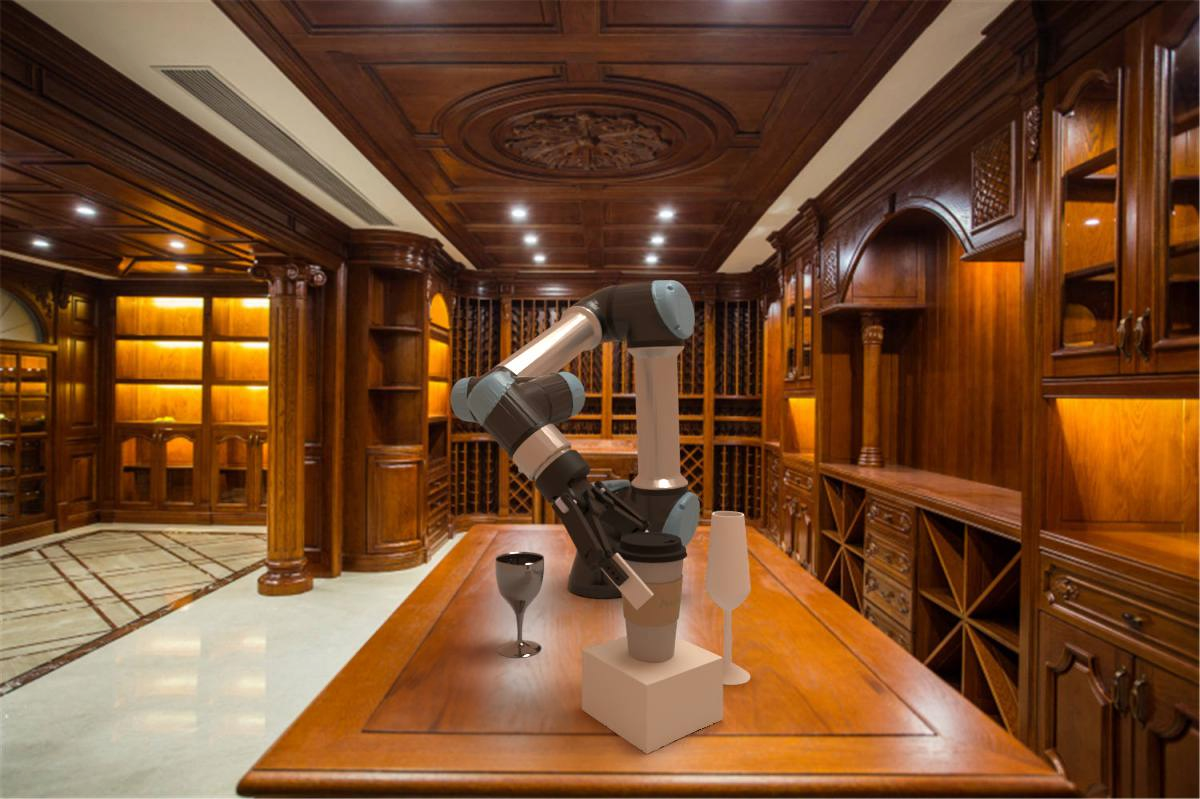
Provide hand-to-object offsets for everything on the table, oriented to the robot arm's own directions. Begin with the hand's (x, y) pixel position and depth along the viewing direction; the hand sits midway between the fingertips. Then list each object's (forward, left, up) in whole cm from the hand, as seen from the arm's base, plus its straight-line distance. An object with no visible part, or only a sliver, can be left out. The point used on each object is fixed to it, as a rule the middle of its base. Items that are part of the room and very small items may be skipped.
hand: (659, 586), depth 81 cm
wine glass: (-30, -3, -17) cm, 35 cm away
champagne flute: (-3, +17, -17) cm, 24 cm away
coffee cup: (-1, -1, -9) cm, 9 cm away
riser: (-1, 0, -17) cm, 17 cm away
